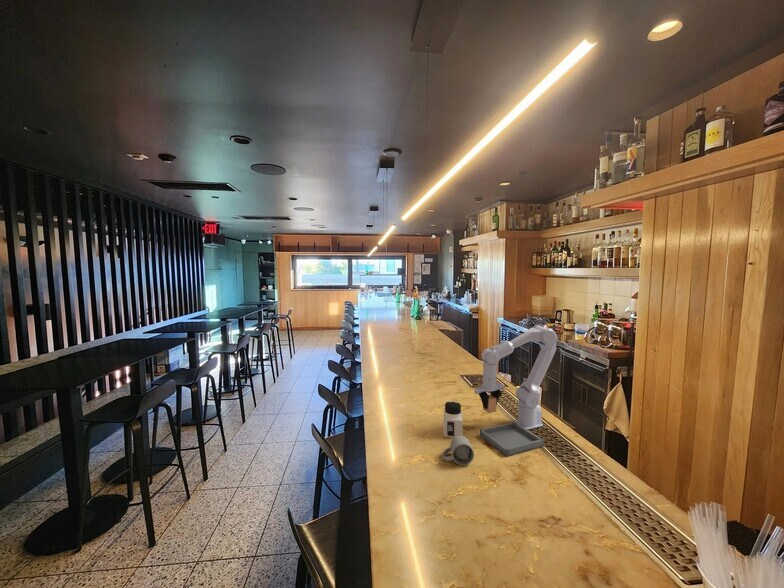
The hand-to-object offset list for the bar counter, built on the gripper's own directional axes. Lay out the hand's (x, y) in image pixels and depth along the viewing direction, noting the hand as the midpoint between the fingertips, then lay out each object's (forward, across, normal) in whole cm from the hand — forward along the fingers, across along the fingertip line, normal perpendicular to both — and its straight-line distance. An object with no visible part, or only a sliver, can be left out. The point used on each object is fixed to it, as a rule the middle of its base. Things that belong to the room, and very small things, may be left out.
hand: (489, 407), depth 136 cm
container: (+9, +18, -1) cm, 20 cm away
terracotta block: (+2, 0, 0) cm, 2 cm away
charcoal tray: (+8, 0, +13) cm, 16 cm away
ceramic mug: (+9, +26, +16) cm, 32 cm away
